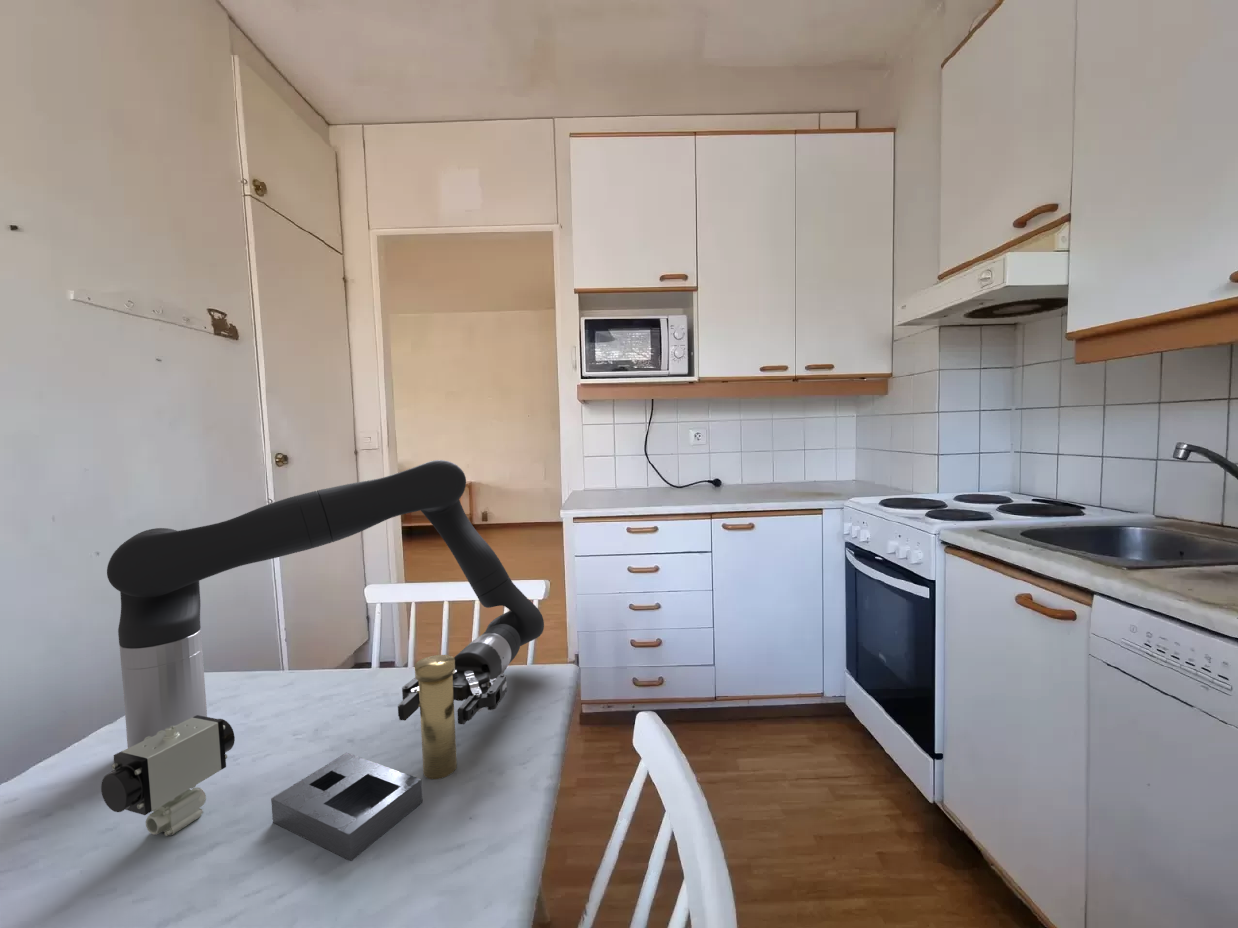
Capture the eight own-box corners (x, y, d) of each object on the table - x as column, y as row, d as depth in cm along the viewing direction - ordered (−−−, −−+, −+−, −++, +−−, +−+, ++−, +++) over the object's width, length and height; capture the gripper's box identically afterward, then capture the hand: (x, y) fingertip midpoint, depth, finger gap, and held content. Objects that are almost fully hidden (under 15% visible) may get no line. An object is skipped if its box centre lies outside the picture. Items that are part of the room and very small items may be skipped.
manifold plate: (272, 822, 63) (271, 798, 63) (348, 773, 72) (346, 752, 72) (350, 860, 57) (348, 834, 57) (422, 802, 66) (421, 779, 66)
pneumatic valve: (240, 795, 68) (233, 705, 68) (133, 865, 57) (124, 759, 57) (209, 787, 70) (203, 700, 69) (100, 855, 59) (91, 751, 58)
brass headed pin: (411, 774, 72) (406, 667, 71) (440, 753, 76) (435, 652, 75) (440, 785, 69) (434, 673, 68) (467, 762, 74) (462, 658, 73)
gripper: (439, 639, 87) (380, 685, 71) (521, 642, 85) (479, 691, 69) (442, 684, 88) (383, 739, 72) (523, 688, 85) (481, 746, 69)
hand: (430, 715), depth 70 cm, fingers open, 8 cm apart
